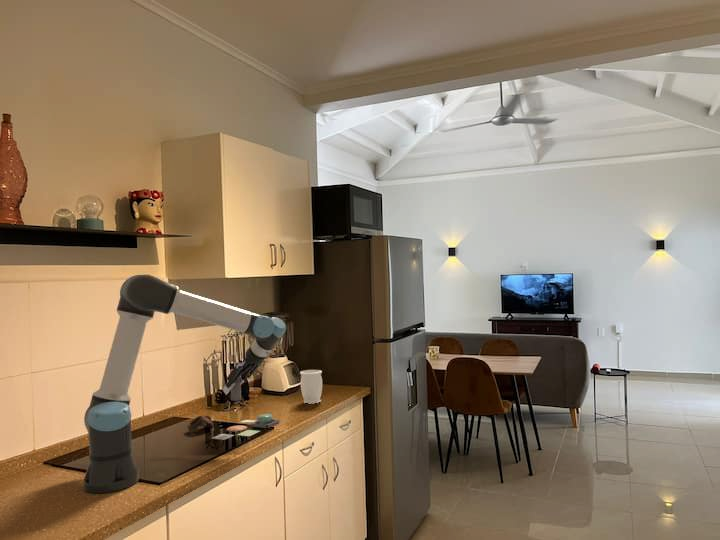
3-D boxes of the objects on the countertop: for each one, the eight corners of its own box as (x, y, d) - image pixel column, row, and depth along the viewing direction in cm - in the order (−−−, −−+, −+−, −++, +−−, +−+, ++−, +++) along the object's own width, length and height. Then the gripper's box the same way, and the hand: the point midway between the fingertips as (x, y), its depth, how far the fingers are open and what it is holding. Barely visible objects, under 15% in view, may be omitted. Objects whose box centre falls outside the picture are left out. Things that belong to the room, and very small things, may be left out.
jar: (297, 404, 256) (296, 372, 256) (307, 399, 265) (306, 369, 265) (316, 405, 251) (315, 373, 252) (326, 400, 261) (325, 369, 261)
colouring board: (238, 447, 192) (237, 440, 192) (198, 443, 199) (198, 436, 199) (281, 425, 218) (281, 419, 218) (245, 422, 226) (245, 416, 226)
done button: (267, 423, 212) (266, 418, 212) (254, 422, 215) (254, 417, 215) (275, 419, 218) (275, 414, 218) (263, 418, 220) (262, 413, 220)
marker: (240, 400, 210) (239, 370, 211) (230, 401, 210) (228, 370, 211) (242, 398, 214) (241, 368, 215) (232, 398, 214) (231, 368, 215)
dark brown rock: (213, 438, 206) (201, 421, 205) (193, 448, 208) (181, 432, 206) (221, 422, 218) (210, 406, 216) (202, 432, 219) (191, 416, 218)
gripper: (248, 361, 197) (218, 402, 206) (278, 354, 212) (248, 393, 220) (237, 346, 200) (208, 387, 209) (267, 341, 215) (238, 379, 223)
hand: (229, 390), depth 214 cm, fingers closed on marker, 4 cm apart
